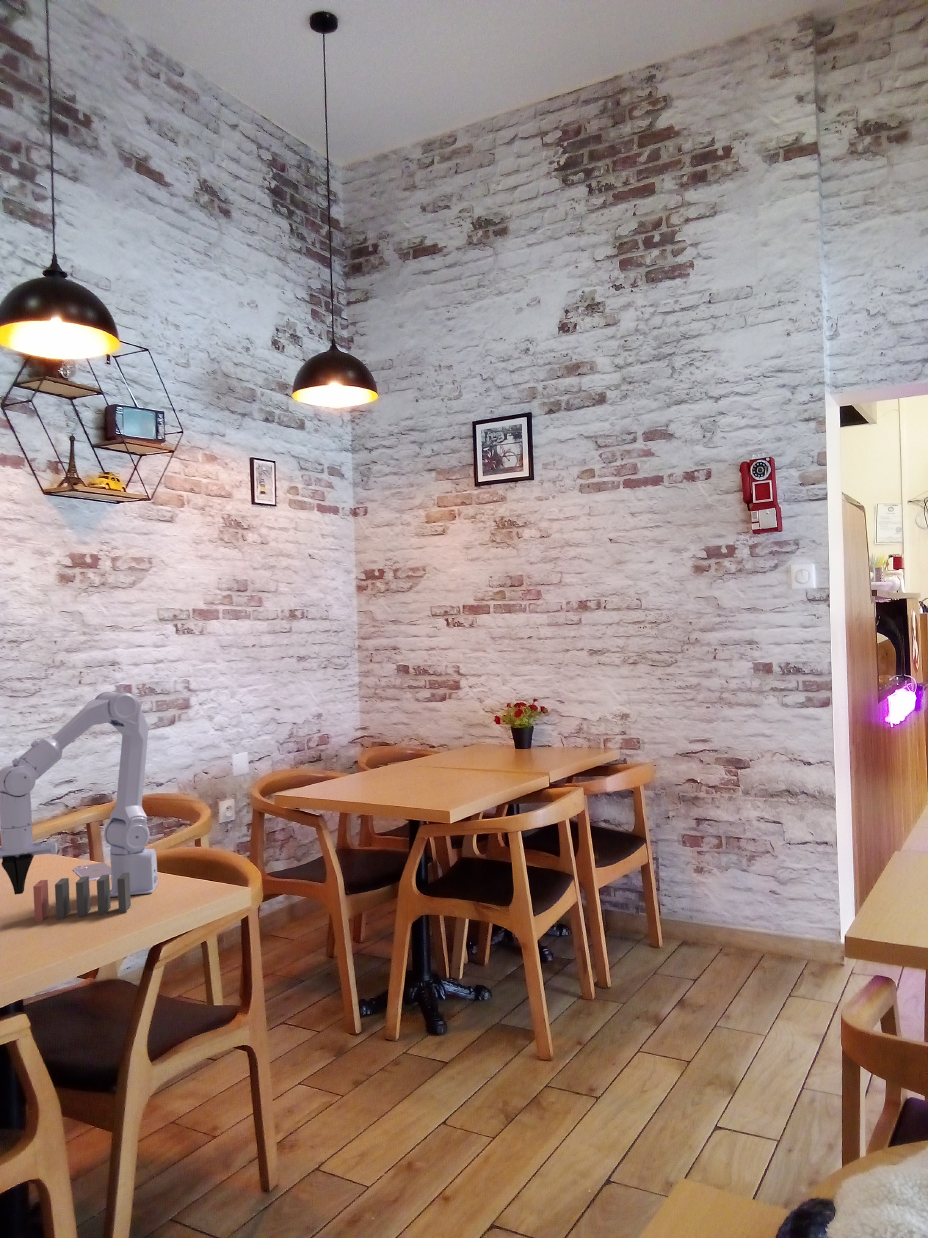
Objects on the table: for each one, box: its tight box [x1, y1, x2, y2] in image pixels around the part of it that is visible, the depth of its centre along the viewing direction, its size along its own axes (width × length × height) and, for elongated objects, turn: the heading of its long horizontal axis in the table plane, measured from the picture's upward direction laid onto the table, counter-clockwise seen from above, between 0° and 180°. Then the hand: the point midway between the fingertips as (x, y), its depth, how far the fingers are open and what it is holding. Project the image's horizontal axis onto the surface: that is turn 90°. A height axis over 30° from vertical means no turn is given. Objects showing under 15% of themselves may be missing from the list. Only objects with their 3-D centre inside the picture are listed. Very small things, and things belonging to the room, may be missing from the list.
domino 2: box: [75, 876, 91, 918], centre depth 180 cm, size 1×4×7 cm, turn 9°
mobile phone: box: [73, 862, 111, 882], centre depth 213 cm, size 8×1×15 cm
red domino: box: [32, 879, 50, 922], centre depth 179 cm, size 1×4×7 cm, turn 9°
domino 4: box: [117, 873, 132, 914], centre depth 182 cm, size 1×4×7 cm, turn 9°
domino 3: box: [96, 874, 111, 916], centre depth 181 cm, size 1×4×7 cm, turn 9°
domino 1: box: [54, 877, 71, 920], centre depth 180 cm, size 1×4×7 cm, turn 9°
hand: (19, 893), depth 179 cm, fingers closed
